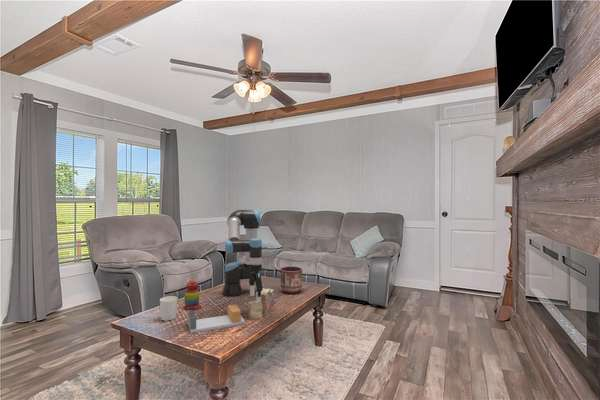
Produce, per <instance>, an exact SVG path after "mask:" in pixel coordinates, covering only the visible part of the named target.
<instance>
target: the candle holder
mask: <svg viewBox="0 0 600 400" xmlns="http://www.w3.org/2000/svg"><path fill="white" fill-rule="evenodd" d="M177 306H178V297H177V296H174V295H169V296H168V295H167V296H163V297H161V298H160V299H159V307H160V308H159V309H160V320H161V321H162V320H164V321H163V322H169V320H171V321H174V320H175V319H177ZM173 319H174V320H173Z"/></svg>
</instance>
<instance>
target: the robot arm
mask: <svg viewBox="0 0 600 400" xmlns="http://www.w3.org/2000/svg"><path fill="white" fill-rule="evenodd" d="M226 222H227V223H226V225H227V226H228V240H225V243H224V252H225V253H228V254H229V253H231V254H232V253H233V254H234V253H244V254H245V255H244V256H245V259H244V260H243V262H242V263H241V262H239V261H234V262H229V263H227V264H225V266H224V285H223V288H222V296H225V297H237V296H241V295H242V294H243V288H242V285H241V280H248V284H249V296H250V297H254V296H255V297H256V300H255V301H256V302H257V303H258V302H261V291H263V289H264V288H263V283H262V274H261V271H262V270H263V268H262V267H263V265H262V263H263V255H262V254H263V253H262V251H263V250H262V249H263V247H262V246H263V241H262V238H258V229H259V228H260V226H261V225H262V217H261V212H260V210H258V209H237V210H235V211H233V212H231V213H230V215H229V216H228V217H227V219H226ZM240 226H243V229H244V230H245V240H243V239H242V240H241V231H240V229H241V228H240ZM255 287H256V290H255ZM262 288H263V289H262ZM255 293H256V294H255Z"/></svg>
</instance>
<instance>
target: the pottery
mask: <svg viewBox="0 0 600 400" xmlns="http://www.w3.org/2000/svg"><path fill="white" fill-rule="evenodd" d="M279 272H280V289H281V290H282V292H283V293H285V294H287V293H288V294H290V295H292V294H293V295H294V293H295V294H297V293H299V292H300V291H301V289H302V286H303V283H302V280H303V268H301V267H299V266H284V267H281V268H280V269H279ZM288 294H287V295H288Z"/></svg>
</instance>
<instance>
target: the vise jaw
mask: <svg viewBox="0 0 600 400" xmlns="http://www.w3.org/2000/svg"><path fill="white" fill-rule="evenodd" d="M241 314H242V311H241V309H240V308H239V306H238V305H237V304H236V303H235V304H229V305H227V315H228V317H229V318H230V320H231V322H232V323H234V322H240V321H241V316H242V315H241Z"/></svg>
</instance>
